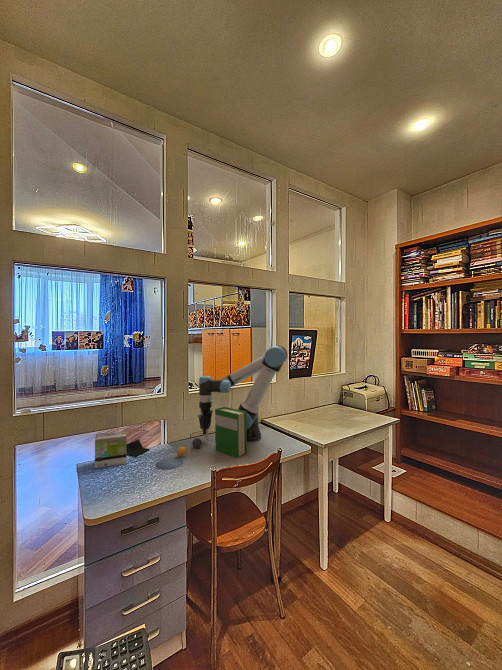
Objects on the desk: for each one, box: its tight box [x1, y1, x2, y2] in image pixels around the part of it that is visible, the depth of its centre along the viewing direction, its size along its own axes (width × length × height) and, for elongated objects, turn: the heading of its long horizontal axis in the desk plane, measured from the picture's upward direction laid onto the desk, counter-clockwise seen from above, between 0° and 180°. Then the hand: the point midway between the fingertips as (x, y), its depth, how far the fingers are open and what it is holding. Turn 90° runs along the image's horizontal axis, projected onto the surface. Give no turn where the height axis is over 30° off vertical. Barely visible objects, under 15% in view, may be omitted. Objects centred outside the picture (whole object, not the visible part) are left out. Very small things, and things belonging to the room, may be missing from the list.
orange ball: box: [176, 445, 188, 458], centre depth 169 cm, size 6×6×6 cm
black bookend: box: [126, 439, 151, 458], centre depth 176 cm, size 12×7×10 cm
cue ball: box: [191, 437, 202, 449], centre depth 182 cm, size 6×6×6 cm
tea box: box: [94, 430, 127, 469], centre depth 162 cm, size 15×10×15 cm, turn 114°
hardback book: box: [214, 406, 248, 460], centre depth 174 cm, size 18×7×24 cm, turn 49°
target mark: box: [155, 457, 184, 470], centre depth 160 cm, size 14×14×1 cm
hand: (205, 439), depth 190 cm, fingers closed
